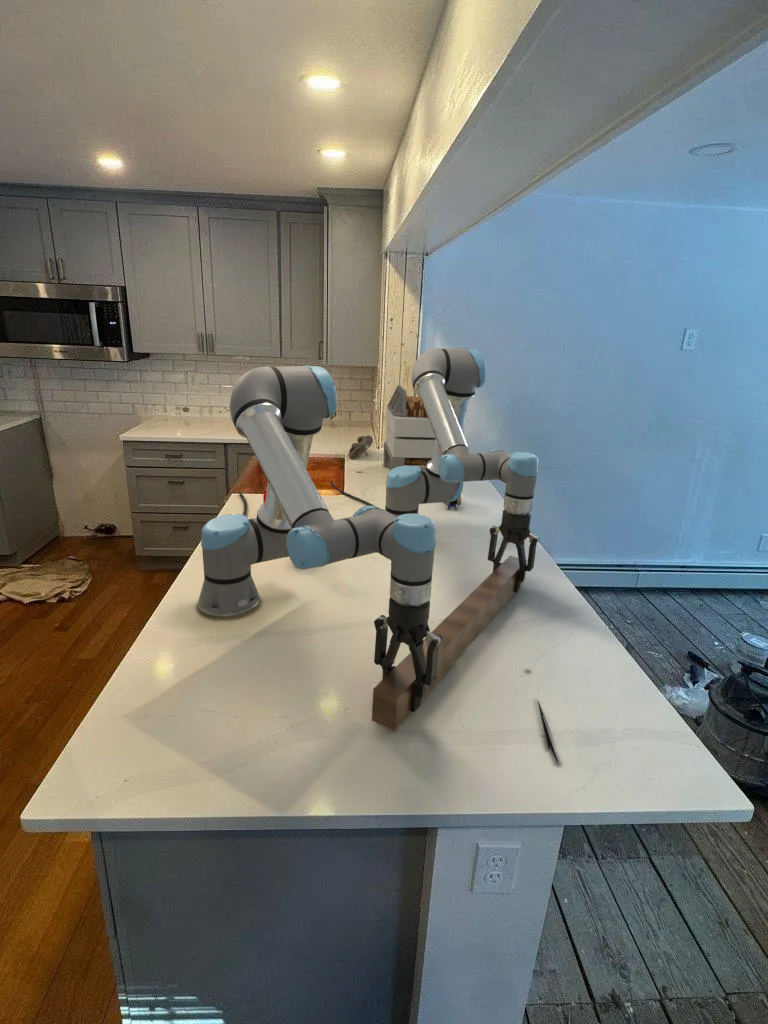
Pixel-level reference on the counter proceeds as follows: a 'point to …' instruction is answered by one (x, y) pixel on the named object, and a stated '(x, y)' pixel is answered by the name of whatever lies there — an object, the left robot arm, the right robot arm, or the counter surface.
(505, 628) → the counter surface
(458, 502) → the figurine character
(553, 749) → the feather
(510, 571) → the bar
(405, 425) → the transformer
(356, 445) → the fossil
